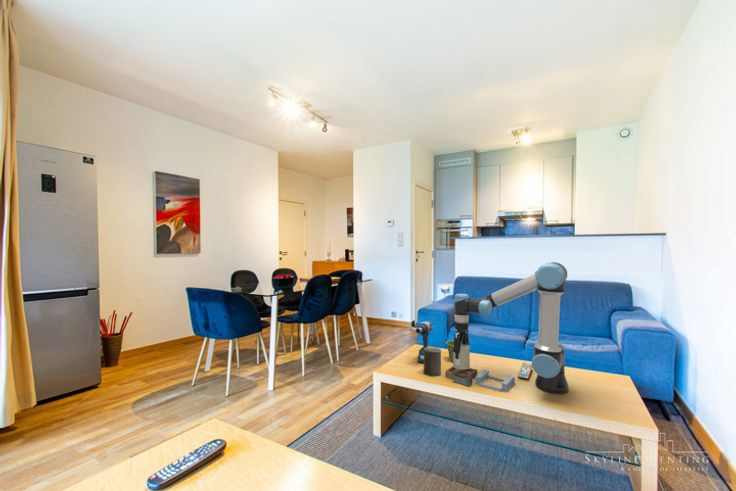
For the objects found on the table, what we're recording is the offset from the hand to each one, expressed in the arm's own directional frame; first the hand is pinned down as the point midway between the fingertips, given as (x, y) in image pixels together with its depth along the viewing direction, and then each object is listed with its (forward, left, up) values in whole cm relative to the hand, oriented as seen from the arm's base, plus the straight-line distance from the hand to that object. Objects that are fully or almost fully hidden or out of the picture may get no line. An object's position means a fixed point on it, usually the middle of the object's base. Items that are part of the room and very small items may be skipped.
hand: (461, 362), depth 189 cm
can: (0, 0, -3) cm, 3 cm away
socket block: (-18, -2, -8) cm, 20 cm away
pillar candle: (+15, +5, -8) cm, 18 cm away
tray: (0, 0, -8) cm, 8 cm away
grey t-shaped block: (-4, +8, -8) cm, 12 cm away
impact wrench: (+28, -8, -8) cm, 30 cm away
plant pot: (+14, -23, -8) cm, 28 cm away
